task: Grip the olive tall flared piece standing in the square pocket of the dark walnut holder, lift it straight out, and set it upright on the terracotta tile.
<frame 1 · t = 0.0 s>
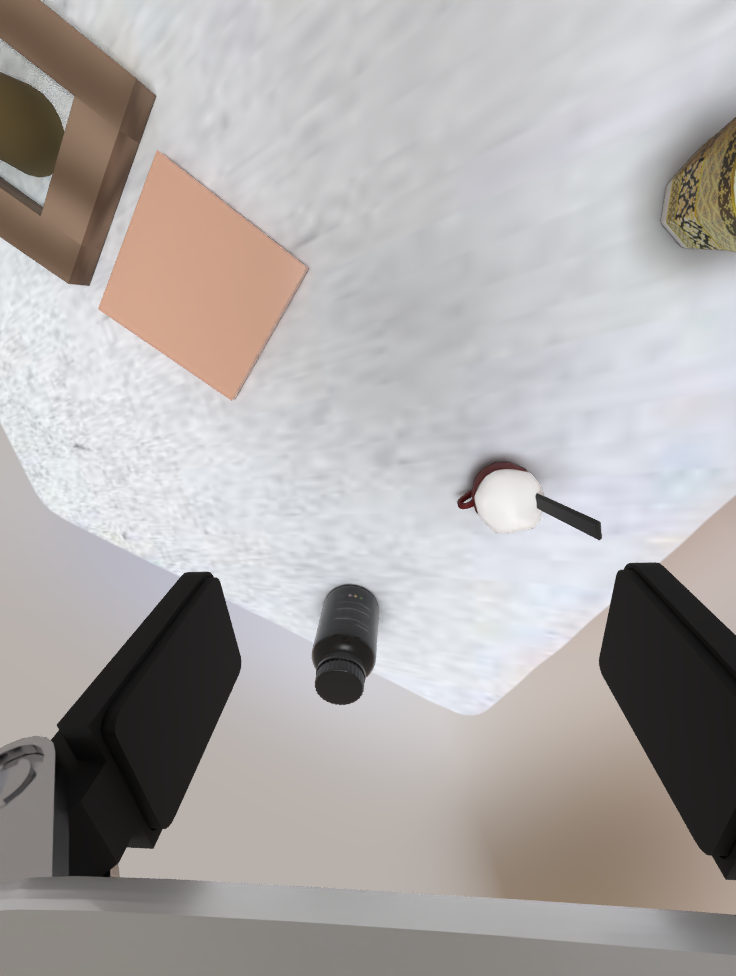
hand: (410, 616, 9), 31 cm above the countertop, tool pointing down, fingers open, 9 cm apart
supplement bottle: (352, 604, 49), on the countertop
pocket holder: (28, 131, 32), on the countertop
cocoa: (500, 482, 41), on the countertop
olive tall flared piece: (30, 132, 32), resting in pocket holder
ceramic cup: (726, 196, 30), on the countertop
terracotta tile: (203, 289, 36), on the countertop
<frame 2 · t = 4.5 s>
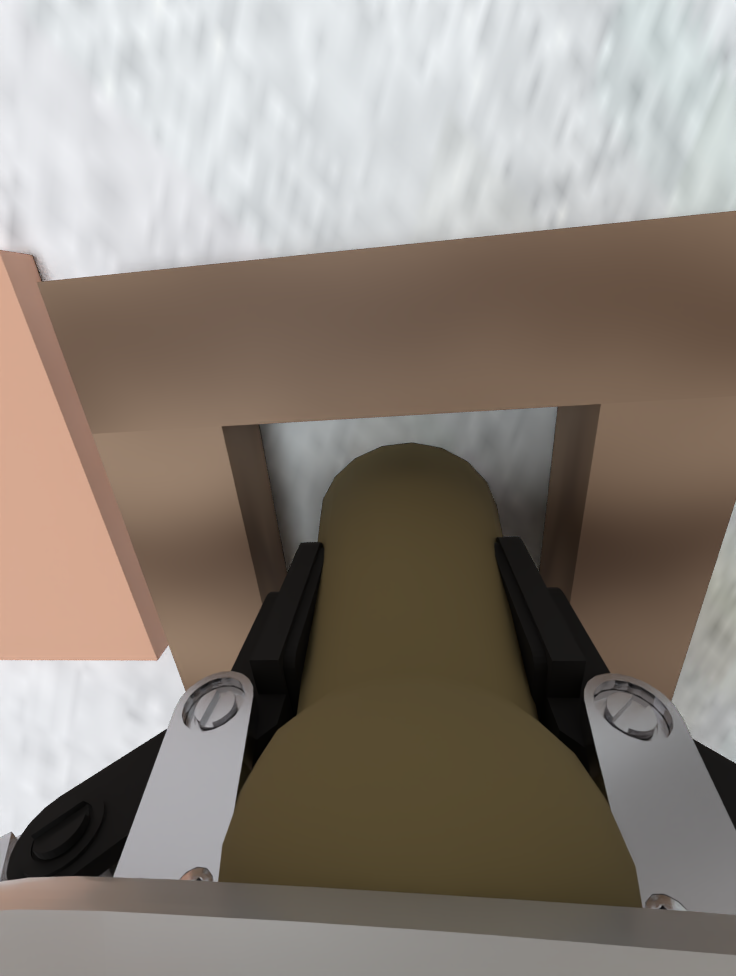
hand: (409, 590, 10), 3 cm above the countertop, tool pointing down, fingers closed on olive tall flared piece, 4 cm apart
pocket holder: (407, 528, 13), on the countertop
olive tall flared piece: (407, 525, 14), resting in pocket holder, touching gripper
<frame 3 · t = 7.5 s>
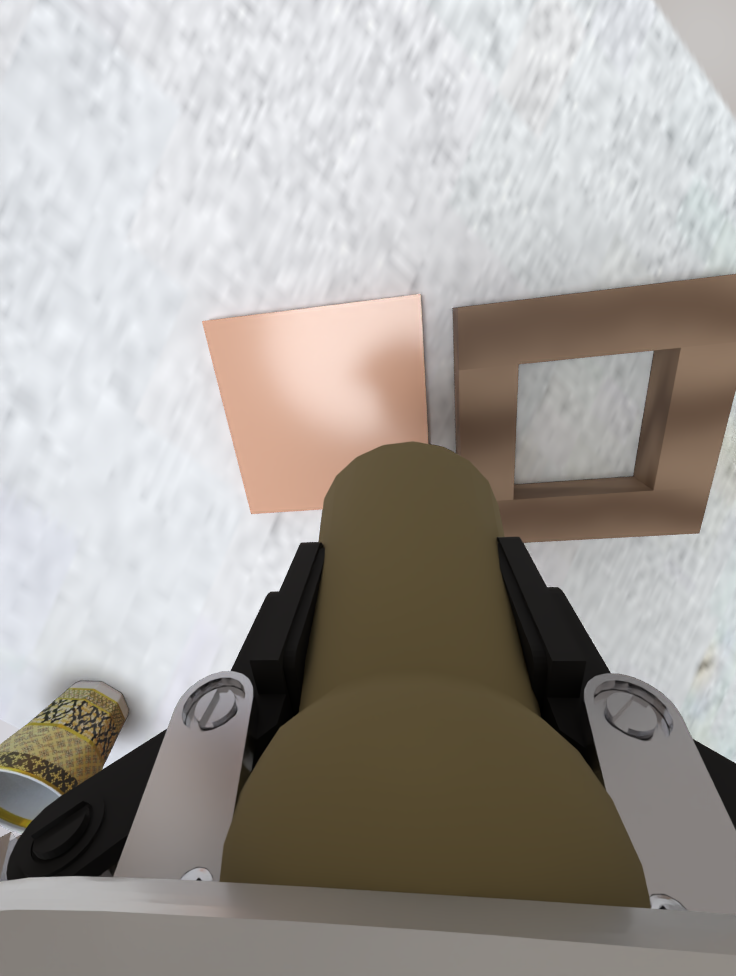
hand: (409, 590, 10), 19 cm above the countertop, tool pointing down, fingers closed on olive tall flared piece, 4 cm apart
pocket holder: (573, 420, 27), on the countertop
olive tall flared piece: (408, 523, 14), point 16 cm above the countertop, touching gripper
ceramic cup: (94, 706, 44), on the countertop
terracotta tile: (327, 414, 28), on the countertop
when the fingers open (6 cm above the countertop, at t = 10.8 s): olive tall flared piece drops 1 cm, resting on terracotta tile.
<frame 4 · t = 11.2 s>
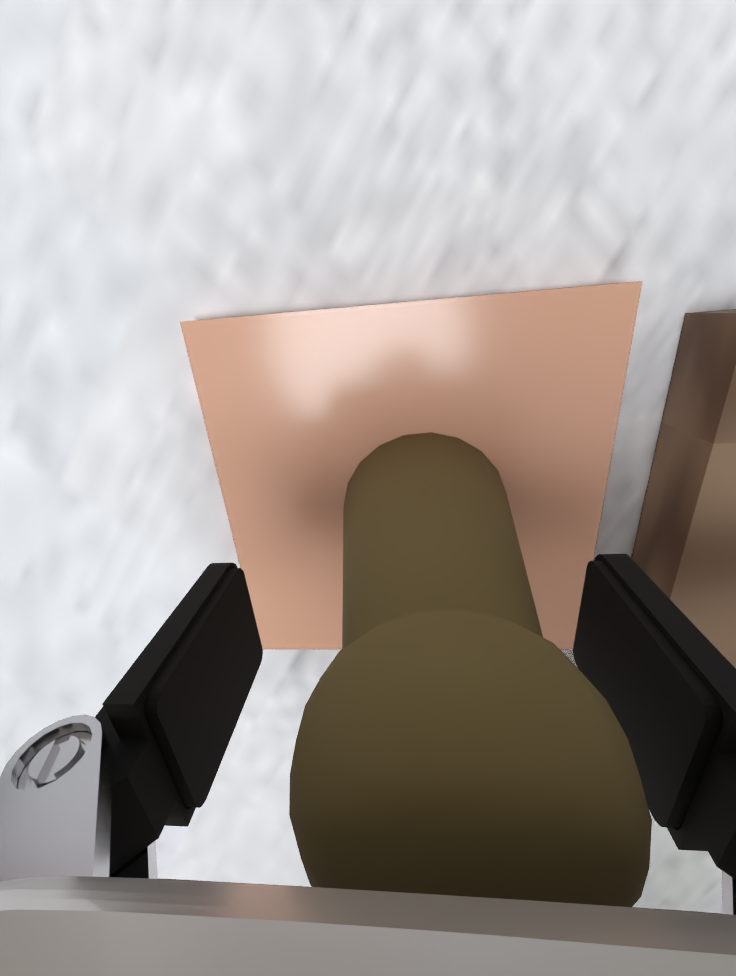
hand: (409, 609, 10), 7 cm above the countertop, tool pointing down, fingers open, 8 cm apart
olive tall flared piece: (423, 508, 15), point 1 cm above the countertop, touching terracotta tile
terracotta tile: (406, 497, 16), on the countertop
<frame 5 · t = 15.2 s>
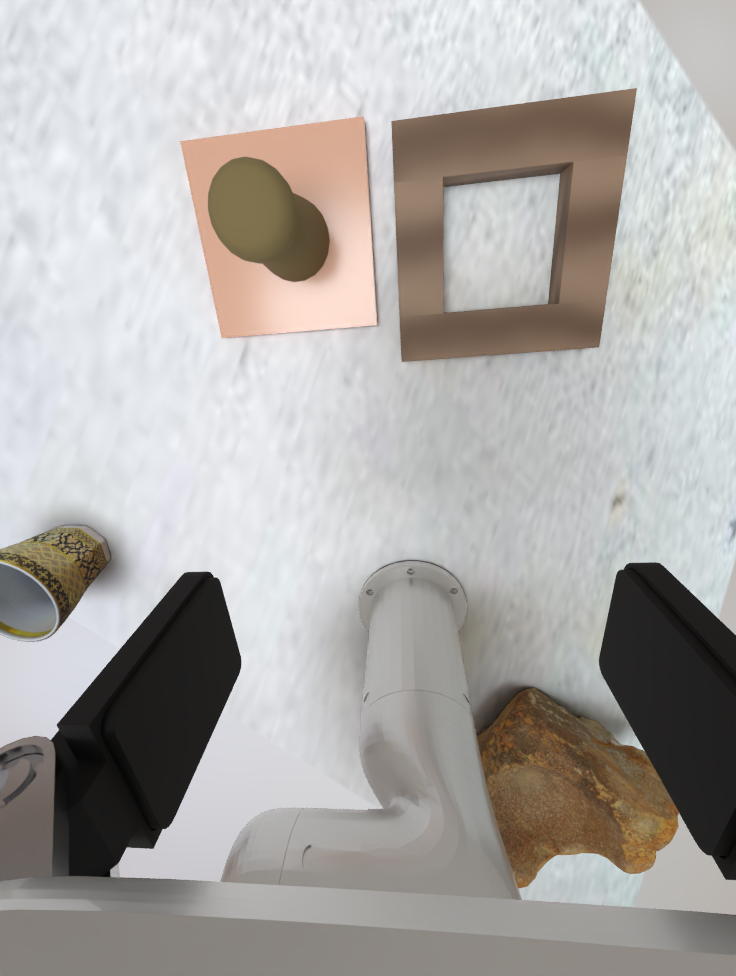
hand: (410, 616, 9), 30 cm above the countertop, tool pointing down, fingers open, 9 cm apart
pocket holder: (496, 248, 32), on the countertop
olive tall flared piece: (293, 240, 32), point 1 cm above the countertop, touching terracotta tile
rough brown rock: (527, 718, 54), on the countertop
ceramic cup: (79, 554, 48), on the countertop
terracotta tile: (288, 241, 33), on the countertop
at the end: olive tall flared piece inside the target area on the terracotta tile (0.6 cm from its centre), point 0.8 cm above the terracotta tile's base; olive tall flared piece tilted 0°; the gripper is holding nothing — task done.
